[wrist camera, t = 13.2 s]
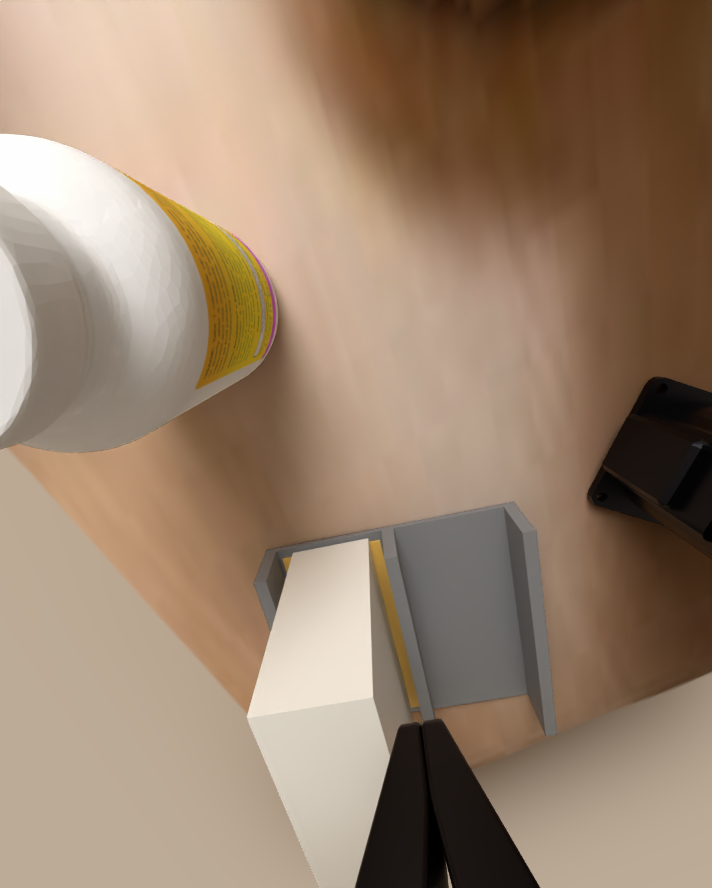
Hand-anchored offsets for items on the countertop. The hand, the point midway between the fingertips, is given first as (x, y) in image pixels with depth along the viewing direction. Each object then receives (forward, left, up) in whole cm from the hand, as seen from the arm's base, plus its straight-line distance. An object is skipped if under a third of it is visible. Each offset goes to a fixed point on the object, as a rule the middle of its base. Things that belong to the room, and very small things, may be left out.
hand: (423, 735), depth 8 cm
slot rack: (-4, +8, -13) cm, 16 cm away
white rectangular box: (-2, +10, -13) cm, 16 cm away
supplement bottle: (+10, -5, -13) cm, 17 cm away
